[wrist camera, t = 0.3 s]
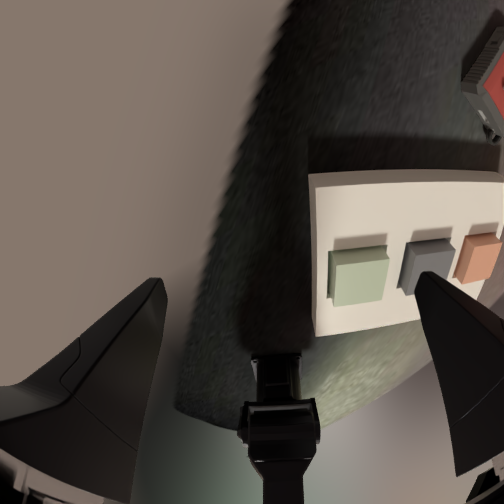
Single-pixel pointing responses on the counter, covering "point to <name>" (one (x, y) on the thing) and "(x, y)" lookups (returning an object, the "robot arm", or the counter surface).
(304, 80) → the counter surface
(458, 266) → the terracotta key
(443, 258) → the charcoal key
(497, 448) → the robot arm
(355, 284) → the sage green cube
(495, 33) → the walkie-talkie
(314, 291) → the three-button panel
